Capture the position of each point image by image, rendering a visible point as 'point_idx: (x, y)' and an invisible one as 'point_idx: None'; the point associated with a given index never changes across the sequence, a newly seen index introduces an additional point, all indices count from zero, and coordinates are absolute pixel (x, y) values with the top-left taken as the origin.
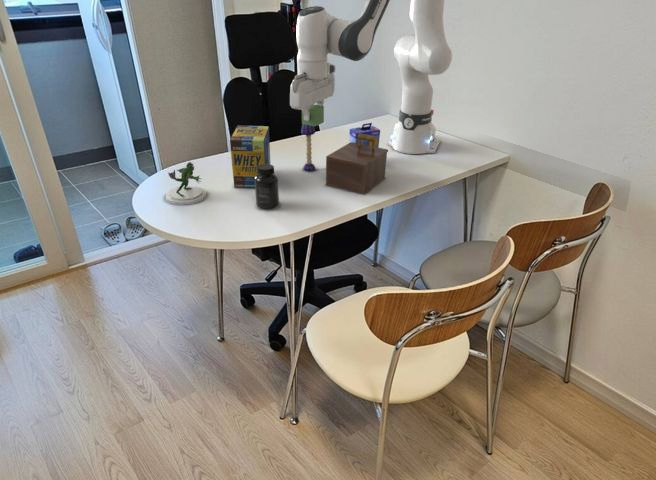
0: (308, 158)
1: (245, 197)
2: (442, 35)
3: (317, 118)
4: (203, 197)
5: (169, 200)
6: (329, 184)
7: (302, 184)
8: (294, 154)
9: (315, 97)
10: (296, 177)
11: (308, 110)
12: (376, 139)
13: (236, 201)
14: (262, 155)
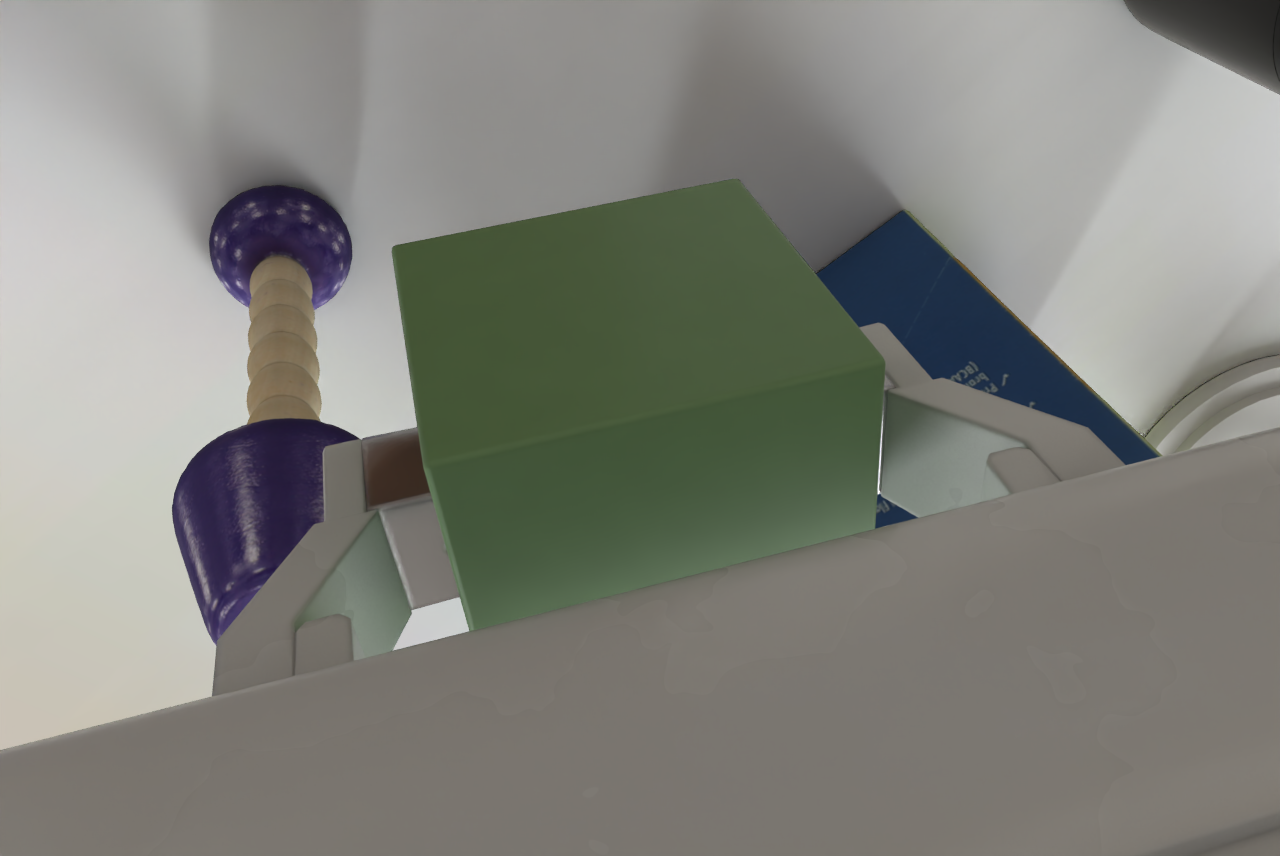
0: (308, 296)
1: (1120, 191)
2: None
3: (703, 260)
4: (1243, 373)
5: None
6: None
7: (644, 15)
8: (114, 598)
9: (914, 658)
10: (541, 190)
11: (1009, 431)
12: None
13: (1205, 185)
14: (1076, 375)
